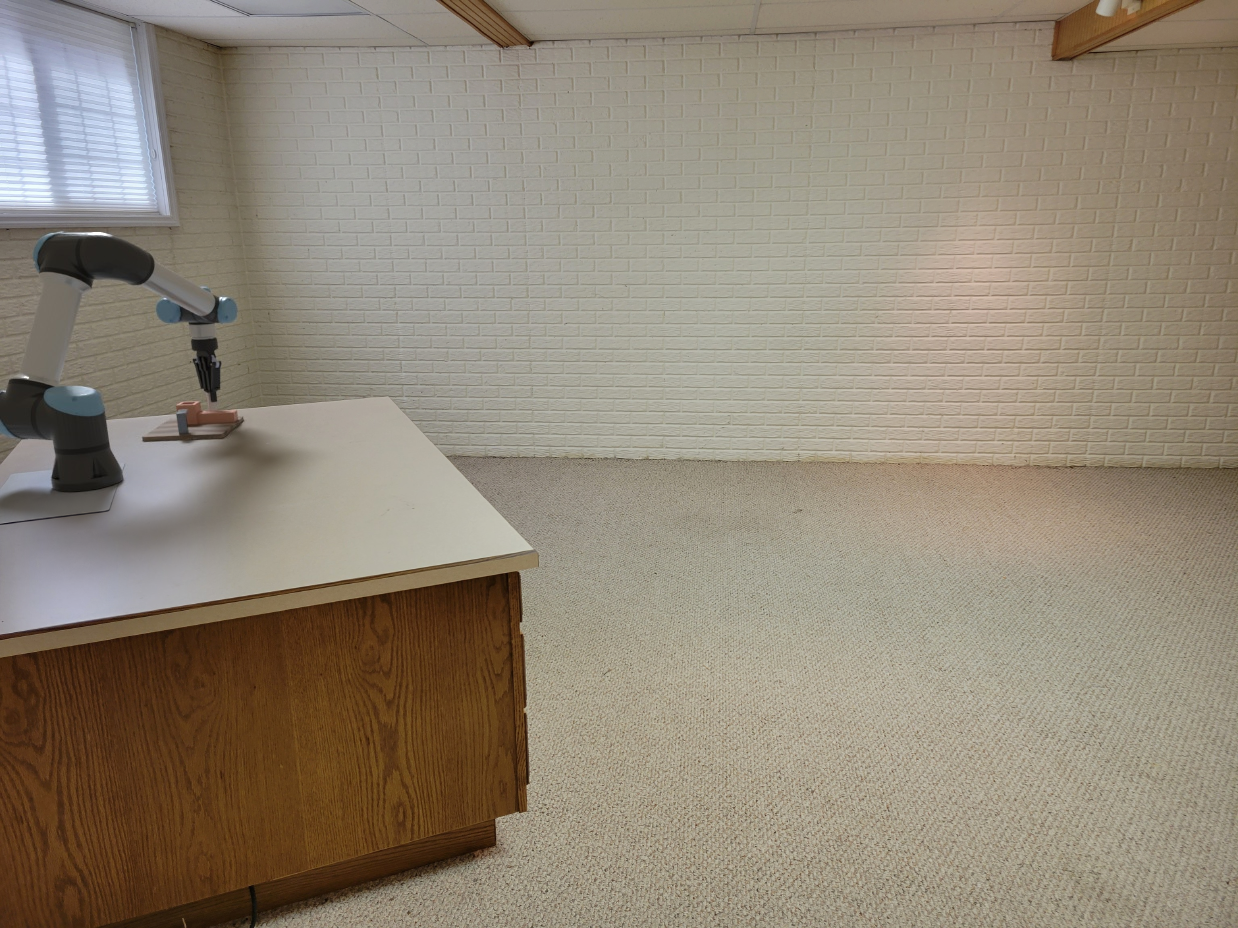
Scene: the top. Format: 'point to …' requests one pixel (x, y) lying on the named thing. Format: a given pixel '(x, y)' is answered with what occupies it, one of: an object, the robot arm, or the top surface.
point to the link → (206, 414)
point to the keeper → (182, 421)
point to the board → (191, 431)
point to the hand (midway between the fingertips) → (213, 411)
